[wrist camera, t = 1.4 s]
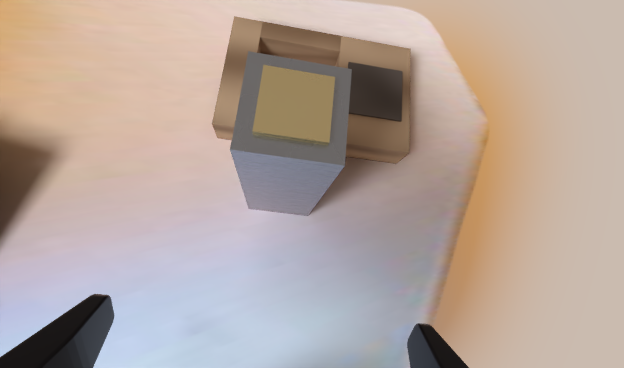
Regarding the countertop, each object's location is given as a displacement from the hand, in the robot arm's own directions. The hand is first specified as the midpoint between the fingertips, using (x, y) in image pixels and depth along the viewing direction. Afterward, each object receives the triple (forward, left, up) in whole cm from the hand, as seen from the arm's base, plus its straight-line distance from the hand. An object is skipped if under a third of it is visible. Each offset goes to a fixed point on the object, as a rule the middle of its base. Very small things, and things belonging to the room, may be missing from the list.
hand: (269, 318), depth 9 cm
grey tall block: (+8, 0, -13) cm, 15 cm away
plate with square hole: (+16, -2, -13) cm, 21 cm away
